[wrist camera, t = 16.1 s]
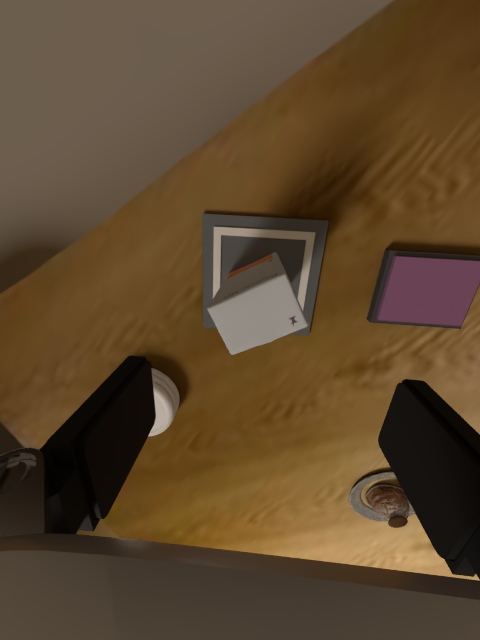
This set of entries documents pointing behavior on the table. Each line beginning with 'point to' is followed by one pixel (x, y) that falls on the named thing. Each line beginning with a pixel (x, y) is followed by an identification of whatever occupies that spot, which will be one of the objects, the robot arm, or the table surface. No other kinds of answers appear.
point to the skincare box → (256, 305)
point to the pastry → (382, 501)
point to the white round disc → (164, 401)
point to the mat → (263, 254)
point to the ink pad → (425, 288)
